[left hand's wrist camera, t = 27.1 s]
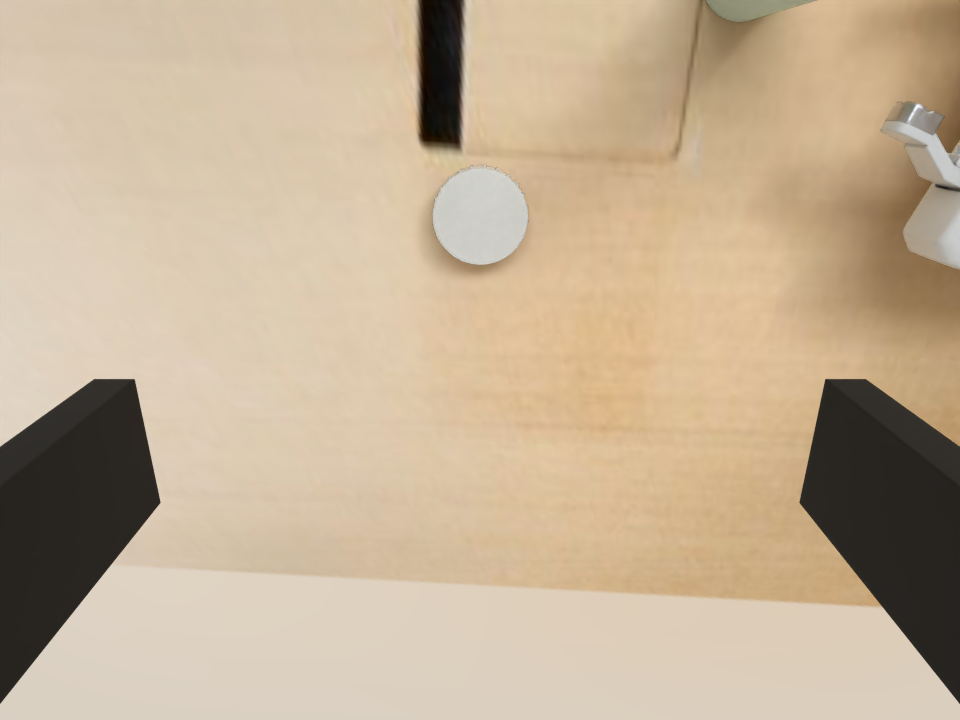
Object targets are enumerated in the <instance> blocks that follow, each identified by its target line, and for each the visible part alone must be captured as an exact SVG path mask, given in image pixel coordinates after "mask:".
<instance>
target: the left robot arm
mask: <svg viewBox="0 0 960 720" xmlns="http://www.w3.org/2000/svg"><path fill="white" fill-rule="evenodd" d="M159 504H160V498H159V493H158V488H157V484H156V479H155V474H154V469H153V465H152V460H151V455H150V450H149V446H148V441H147V436H146V431H145V427H144V422H143V417H142V412H141V408H140V403H139V398H138V393H137V388H136V384H135V379H94V380H93V381H91V382H90V383H88V384H87V385H86V386H84V387H83V388H81V389H80V390H79V391H77V392H76V393H74V394H73V395H72V396H70V397H69V398H67V399H66V400H65V401H63V402H62V403H61V404H59V405H58V406H56V407H55V408H54V409H52V410H51V411H49V412H48V413H47V414H45V415H44V416H42V417H41V418H40V419H38V420H37V421H35V422H34V423H33V424H31V425H30V426H29V427H27V428H26V429H24V430H23V431H22V432H20V433H19V434H17V435H16V436H15V437H13V438H12V439H10V440H9V441H8V442H6V443H5V444H3V445H2V446H1V447H0V703H1V702H2V701H3V700H4V698H5V697H6V696H7V695H8V693H9V692H10V691H11V690H12V688H13V687H14V686H15V685H16V683H17V682H18V681H19V680H20V678H21V677H22V676H23V675H24V673H25V672H26V671H27V669H28V668H29V667H30V666H31V665H32V663H33V662H34V661H35V659H36V658H37V657H38V656H39V654H40V653H41V652H42V651H43V649H44V648H45V647H46V646H47V644H48V643H49V642H50V641H51V639H52V638H53V637H54V636H55V634H56V633H57V632H58V631H59V629H60V628H61V627H62V626H63V624H64V623H65V622H66V621H67V619H68V618H69V617H70V616H71V614H72V613H73V612H74V611H75V609H76V608H77V607H78V606H79V604H80V603H81V602H82V601H83V599H84V598H85V597H86V596H87V594H88V593H89V592H90V590H91V589H92V588H93V587H94V585H95V584H96V583H97V582H98V580H99V579H100V578H101V577H102V575H103V574H104V573H105V572H106V570H107V569H108V568H109V567H110V565H111V564H112V563H113V562H114V560H115V559H116V558H117V557H118V555H119V554H120V553H121V552H122V550H123V549H124V548H125V547H126V545H127V544H128V543H129V542H130V540H131V539H132V538H133V537H134V535H135V534H136V533H137V532H138V530H139V529H140V528H141V527H142V525H143V524H144V523H145V522H146V520H147V519H148V518H149V516H150V515H151V514H152V513H153V511H154V510H155V509H156V508H157V506H158V505H159ZM800 504H801V505H802V506H803V508H804V509H805V510H806V511H807V513H808V514H809V515H810V516H811V518H812V519H813V520H814V522H815V523H816V524H817V525H818V527H819V528H820V529H821V530H822V532H823V533H824V534H825V535H826V537H827V538H828V539H829V540H830V542H831V543H832V544H833V545H834V547H835V548H836V549H837V550H838V552H839V553H840V554H841V555H842V557H843V558H844V559H845V560H846V562H847V563H848V564H849V565H850V567H851V568H852V569H853V570H854V572H855V573H856V574H857V575H858V577H859V578H860V579H861V580H862V582H863V583H864V584H865V585H866V587H867V588H868V589H869V590H870V592H871V593H872V594H873V596H874V597H875V598H876V599H877V601H878V602H879V603H880V604H881V606H882V607H883V608H884V609H885V611H886V612H887V613H888V614H889V616H890V617H891V618H892V619H893V621H894V622H895V623H896V624H897V626H898V627H899V628H900V629H901V631H902V632H903V633H904V634H905V636H906V637H907V638H908V639H909V641H910V642H911V643H912V644H913V646H914V647H915V648H916V649H917V651H918V652H919V653H920V654H921V656H922V657H923V658H924V659H925V661H926V662H927V663H928V664H929V666H930V667H931V668H932V670H933V671H934V672H935V673H936V675H937V676H938V677H939V678H940V680H941V681H942V682H943V683H944V684H945V686H946V687H947V688H948V690H949V691H950V692H951V693H952V695H953V696H954V697H955V698H956V700H957V701H958V702H959V703H960V447H959V446H958V445H957V444H955V443H954V442H952V441H951V440H950V439H948V438H947V437H945V436H944V435H943V434H941V433H940V432H938V431H937V430H936V429H934V428H933V427H931V426H930V425H929V424H927V423H926V422H925V421H923V420H922V419H920V418H919V417H918V416H916V415H915V414H913V413H912V412H911V411H909V410H908V409H906V408H905V407H904V406H902V405H901V404H899V403H898V402H897V401H895V400H894V399H893V398H891V397H890V396H888V395H887V394H886V393H884V392H883V391H881V390H880V389H879V388H877V387H876V386H874V385H873V384H872V383H870V382H869V381H867V380H866V379H825V384H824V388H823V393H822V398H821V403H820V408H819V412H818V417H817V422H816V427H815V431H814V436H813V441H812V446H811V450H810V455H809V460H808V465H807V469H806V474H805V479H804V484H803V488H802V493H801V498H800Z"/></svg>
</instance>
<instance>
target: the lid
mask: <svg viewBox="0 0 960 720" xmlns="http://www.w3.org/2000/svg"><path fill="white" fill-rule="evenodd" d="M518 186H519V185H518V183H517V182H515V181H514V180H513V179H512V178H511V177H510V176H509V174H508V173H507V174H506V173H504V172H502V171H500V170H498V168H497V167H496V168H493V167H488V166H486V165H484V166H473V165H471V167H468V168H465V169H463V170H461V169H459V171H458V172H457V173H455V174H454V175H452V176H449V178H448V180H447V181H446V182H445V183H444V185H441V187H440V191H439V193H438V196H436V197H435V199H434V201H435V204H434V208H433V211H432V213H433V226H434V229H435V233H436V235H437V238H438V239H439V241H440V243H441V244H442V246H443V247H444V248H445V249H446V250H447V251H448V252H449V253H450V254H451V255H452V256H454V257H455V258H457V259H459V260H461V261H463V262H466V263H469V264H475V265H485V264H491V263H495V262H498V261H500V260H502V259H504V258H506V257H507V256H508V255H510V254H511V253H512V252H513V251H514V250H515V249H516V248H517V247H518V246H519V244H520V243H521V241H522V239H523V237H524V235H525V234H526V229H527V224H528V222H529V220H528V206H527V204H526V201H525V199H524V197H525V195H524V193H522V192H521V190H520V188H519V187H518Z"/></svg>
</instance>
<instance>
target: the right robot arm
mask: <svg viewBox="0 0 960 720" xmlns="http://www.w3.org/2000/svg"><path fill="white" fill-rule="evenodd" d="M944 117H945V116H943V115H941V114H939V113H937V112H935V111H927V109H926V107H924V106H922V105H920V104H917V103H913V102H905V103H902V102H897V103H896V104H895V106H894V107H893V109H892V111H891V112H890V114H889V115H888V117H887V119H886V120H885V122H884V124H883V125H882V127H881V129H880V131H881V132H882V133H884V134H886V135H888V136H890V137H893V138H895V139H897V140H899V141H901V142H903V143H905V145H904V147H905V149H906V151H907V153H908V155H909V157H910V159H911V161H912V163H913V166H914V168H915V170H916V172H917V174H918V176H919V177H922V178H924V179H926V180H928V181H930V182H933V183H932V184H931V186H930V187H929V189H928V191H927V192H926V194H925V195H924V197H923V198H922V200H921V202H920V203H919V205H918V206H917V208H916V209H915V211H914V213H913V214H912V216H911V217H910V219H909V220H908V222H907V223H906V225H905V227H904V229H903V236H904V239H905V242H906V245H907V247H908V250H909V251H910V252H912V253H915V254H917V255H920V256H922V257H925V258H928V259H930V260H933V261H936V262H938V263H941V264H944V265H947V266H950V267H953V268H956V269H959V270H960V140H959V142H958V143H957V145H956V146H955V148H954V150H953V151H952V153H947V152H946V150H945V149H944V147H943V145H942V143H941V141H940V140H939V138H938V136H937V134H936V133H935V132H936V130H937V129H938V127H939V125H940V124H941V122H942V120H943V118H944Z"/></svg>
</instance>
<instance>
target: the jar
mask: <svg viewBox="0 0 960 720" xmlns="http://www.w3.org/2000/svg"><path fill="white" fill-rule="evenodd" d="M813 1H816V0H706V2H707V3H708V5H709V6H710V8H711V9H712V10H713V11H714V12H715V13H716V14H717V15H719V16H720V17H722V18H724V19H726V20H730V21H735V22H744V21H750V20H753V19H756V18H760V17H763V16H766V15H770V14H773V13H776V12H780V11H783V10H786V9H789V8H793V7H796V6H799V5H803V4H806V3H809V2H813Z"/></svg>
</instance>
